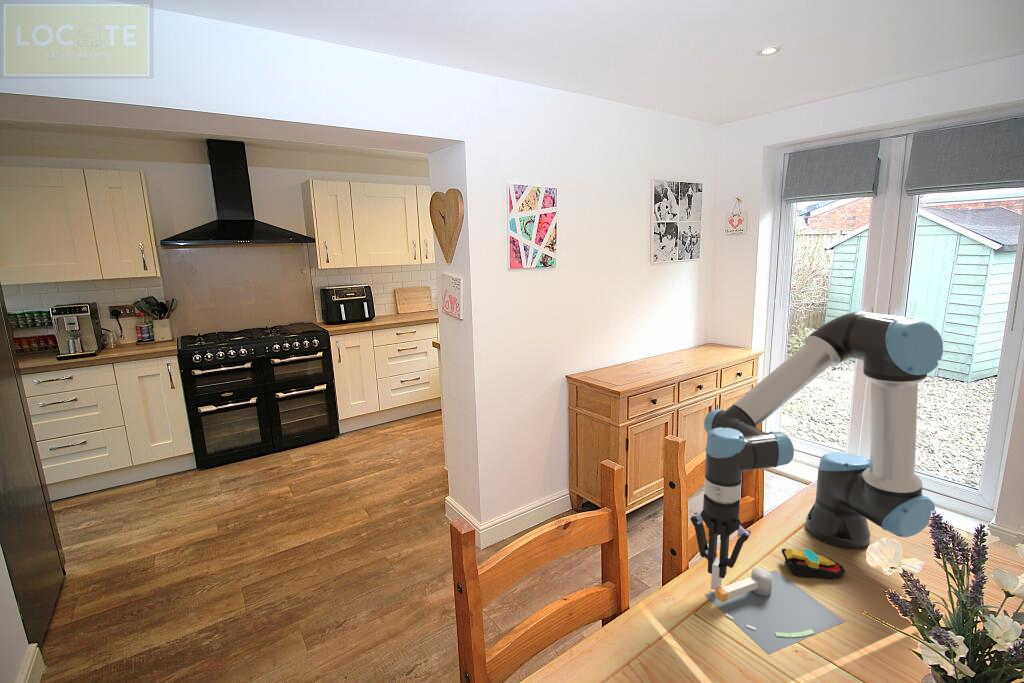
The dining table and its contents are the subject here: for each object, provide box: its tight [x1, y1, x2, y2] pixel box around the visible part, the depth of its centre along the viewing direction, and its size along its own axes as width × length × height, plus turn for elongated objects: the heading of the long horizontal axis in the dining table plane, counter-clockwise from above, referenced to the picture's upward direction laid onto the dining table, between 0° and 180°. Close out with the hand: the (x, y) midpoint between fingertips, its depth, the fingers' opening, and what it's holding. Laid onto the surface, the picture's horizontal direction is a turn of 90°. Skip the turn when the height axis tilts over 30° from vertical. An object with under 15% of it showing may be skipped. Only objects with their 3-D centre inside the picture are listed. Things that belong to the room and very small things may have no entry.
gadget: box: [780, 547, 846, 581], centre depth 121 cm, size 6×13×6 cm, turn 76°
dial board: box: [704, 569, 846, 655], centre depth 110 cm, size 22×18×1 cm
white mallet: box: [714, 567, 773, 602], centre depth 113 cm, size 15×4×4 cm, turn 110°
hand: (716, 586), depth 115 cm, fingers closed
